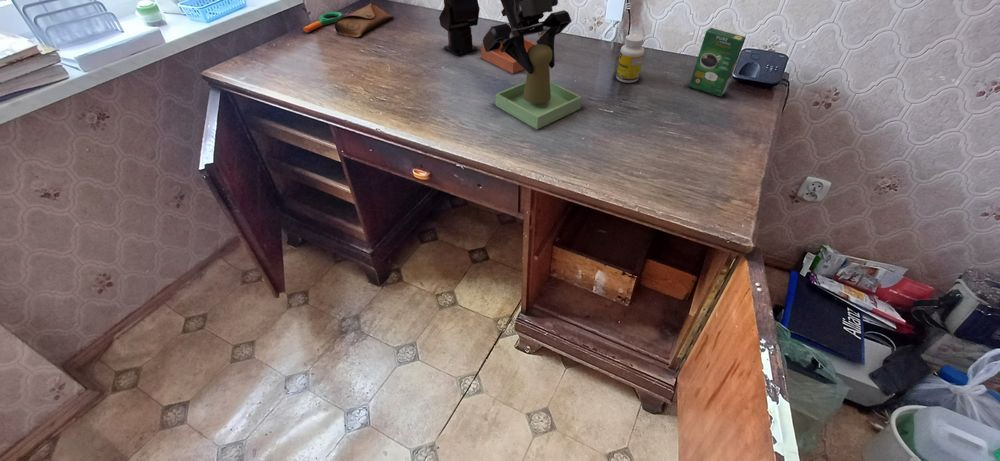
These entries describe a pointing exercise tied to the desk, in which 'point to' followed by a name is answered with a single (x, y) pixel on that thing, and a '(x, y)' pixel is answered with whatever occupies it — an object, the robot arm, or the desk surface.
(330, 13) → the magnifying glass
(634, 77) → the supplement bottle
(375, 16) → the sunglasses case
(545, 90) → the olive pepper mill
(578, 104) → the sage tray
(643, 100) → the desk surface
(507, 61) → the terracotta tray
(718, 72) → the coffee box
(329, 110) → the desk surface
